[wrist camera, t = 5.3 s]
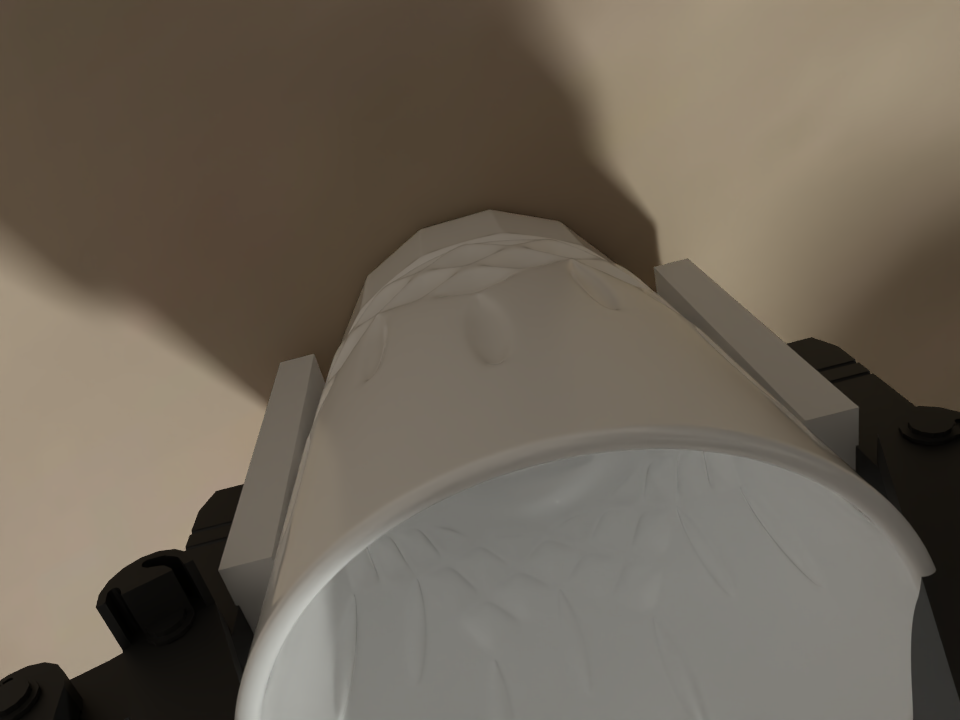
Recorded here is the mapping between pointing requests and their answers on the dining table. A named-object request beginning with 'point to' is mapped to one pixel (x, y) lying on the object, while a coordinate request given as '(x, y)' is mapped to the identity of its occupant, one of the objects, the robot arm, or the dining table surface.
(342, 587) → the white cup
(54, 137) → the dining table surface
